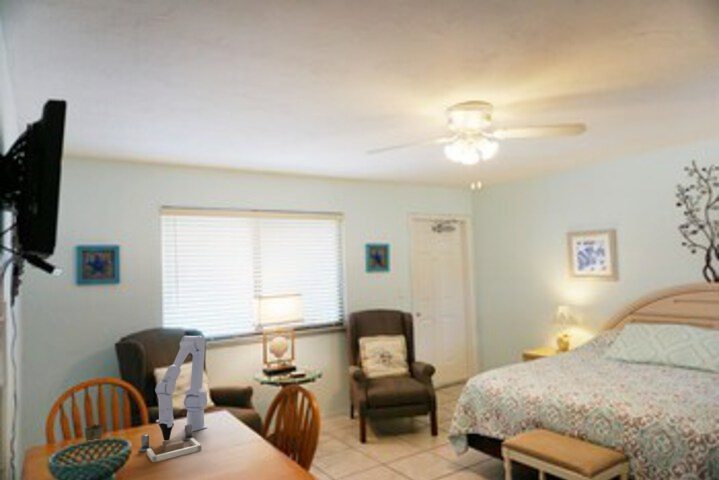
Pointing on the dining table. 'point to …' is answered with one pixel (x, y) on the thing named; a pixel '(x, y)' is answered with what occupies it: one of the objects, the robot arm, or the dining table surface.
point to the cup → (94, 432)
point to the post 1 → (144, 443)
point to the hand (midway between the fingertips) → (166, 439)
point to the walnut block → (173, 445)
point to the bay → (174, 452)
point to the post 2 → (188, 433)
